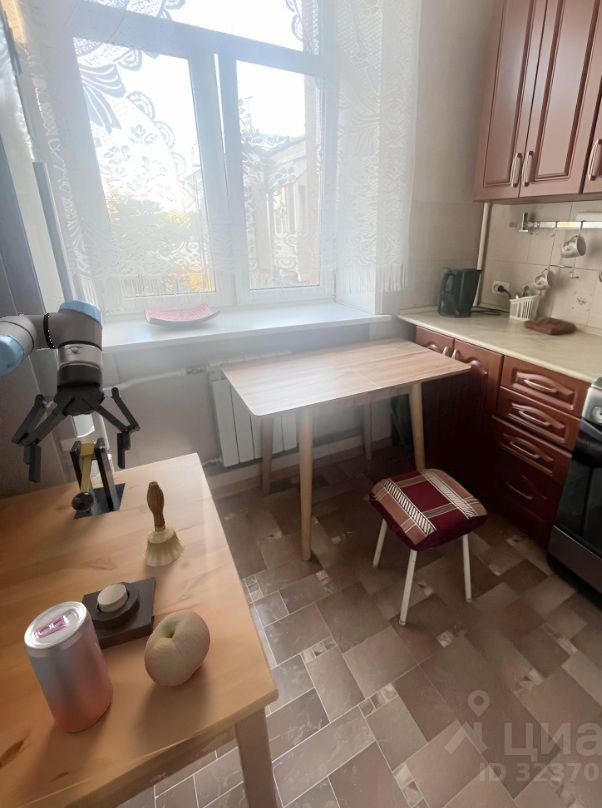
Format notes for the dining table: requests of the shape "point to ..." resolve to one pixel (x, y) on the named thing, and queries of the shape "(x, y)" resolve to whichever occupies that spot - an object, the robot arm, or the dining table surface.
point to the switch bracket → (110, 493)
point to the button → (112, 598)
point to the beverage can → (69, 665)
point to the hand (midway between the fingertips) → (79, 474)
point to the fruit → (176, 648)
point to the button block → (124, 614)
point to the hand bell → (160, 532)
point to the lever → (85, 480)
